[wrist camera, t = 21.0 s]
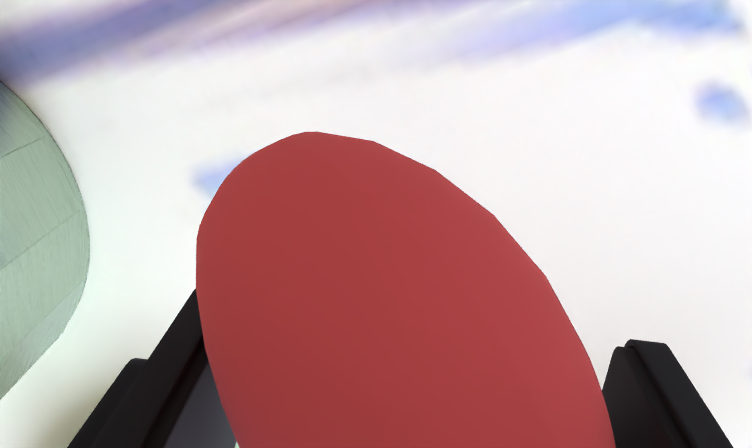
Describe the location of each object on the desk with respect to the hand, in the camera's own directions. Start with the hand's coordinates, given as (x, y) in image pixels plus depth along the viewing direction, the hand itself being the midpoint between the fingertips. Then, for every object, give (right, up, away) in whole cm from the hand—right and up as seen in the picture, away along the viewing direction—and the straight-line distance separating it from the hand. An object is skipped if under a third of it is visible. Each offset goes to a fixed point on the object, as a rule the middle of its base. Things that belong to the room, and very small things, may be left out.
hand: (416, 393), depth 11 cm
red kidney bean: (0, 0, +1) cm, 1 cm away
